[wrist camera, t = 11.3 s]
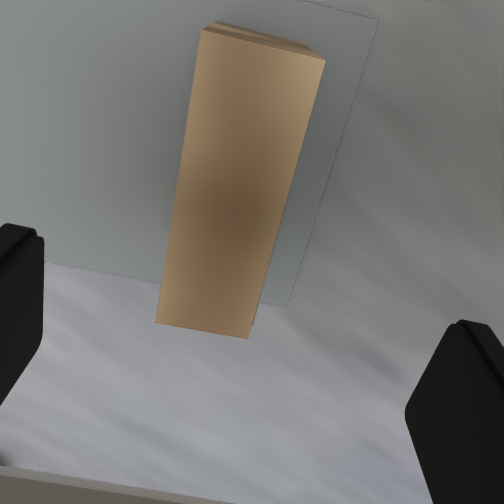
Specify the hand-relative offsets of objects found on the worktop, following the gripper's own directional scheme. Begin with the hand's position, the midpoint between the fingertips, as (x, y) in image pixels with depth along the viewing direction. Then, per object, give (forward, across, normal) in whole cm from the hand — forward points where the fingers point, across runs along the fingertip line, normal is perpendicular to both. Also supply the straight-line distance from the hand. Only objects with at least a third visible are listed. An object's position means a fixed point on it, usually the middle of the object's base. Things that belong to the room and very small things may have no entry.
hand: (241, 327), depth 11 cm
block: (+12, +1, 0) cm, 12 cm away
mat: (+12, +4, 0) cm, 13 cm away
